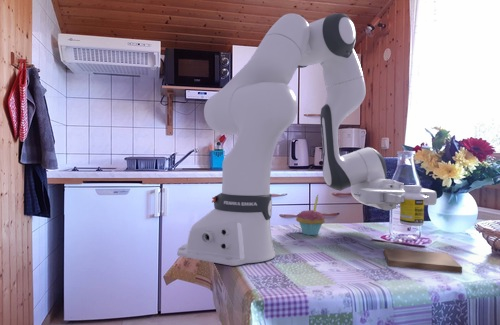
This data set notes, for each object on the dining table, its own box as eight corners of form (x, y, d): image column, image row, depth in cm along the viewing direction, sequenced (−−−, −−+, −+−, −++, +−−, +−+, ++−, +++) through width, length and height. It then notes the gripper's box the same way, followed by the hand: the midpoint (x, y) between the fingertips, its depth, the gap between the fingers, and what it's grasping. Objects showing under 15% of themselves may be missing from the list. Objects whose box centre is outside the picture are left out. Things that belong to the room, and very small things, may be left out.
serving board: (388, 265, 76) (388, 260, 76) (383, 252, 86) (383, 248, 86) (461, 272, 72) (462, 266, 72) (447, 258, 82) (447, 253, 82)
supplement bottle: (416, 227, 85) (417, 186, 85) (395, 223, 89) (396, 184, 89) (428, 224, 88) (428, 185, 88) (407, 221, 92) (407, 184, 92)
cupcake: (322, 231, 111) (323, 193, 111) (326, 237, 103) (327, 196, 103) (295, 230, 112) (296, 192, 112) (296, 236, 104) (297, 195, 103)
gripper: (351, 182, 100) (375, 186, 86) (417, 184, 103) (451, 188, 89) (350, 204, 100) (374, 212, 86) (417, 205, 103) (450, 212, 89)
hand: (414, 199), depth 88 cm, fingers closed on supplement bottle, 5 cm apart
